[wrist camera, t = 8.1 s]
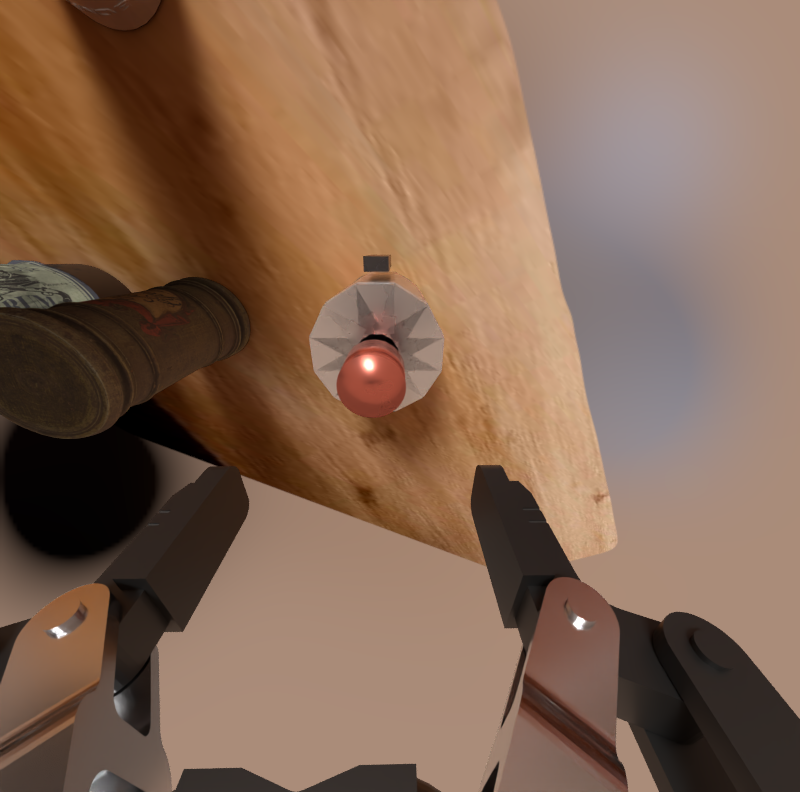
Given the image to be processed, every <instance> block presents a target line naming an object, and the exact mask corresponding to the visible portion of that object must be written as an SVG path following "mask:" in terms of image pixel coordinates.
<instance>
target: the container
mask: <svg viewBox="0 0 800 792" xmlns="http://www.w3.org/2000/svg"><path fill="white" fill-rule="evenodd" d="M249 336H250V323H249V318H248V315H247V313H246V311H245V309H244V307H243V306H242V304H241V303H240V301H239V300H238V299H237V298H236V296H235V295H234V294H232V293H231V292H230V291H229V290H228V289H226V288H225V287H224V286H222V285H220V284H218V283H216V282H214V281H211V280H208V279H204V278H199V277H188V278H183V279H180V280H176V281H172V282H170V283H168V284H166V285H165V286H161V287H154V288H151V289H148V290H146V291H142V292H136V293H130V294H125V295H119V296H113V297H107V298H100V299H94V300H88V301H82V302H64V303H59V304H56V305H53V306H51V307H50V308H48V309H42V308H23V309H22V308H14V307H0V415H2V416H4V417H5V418H7V419H8V420H10V421H12V422H14V423H16V424H17V425H20V426H22V427H24V428H26V429H29V430H32V431H34V432H37V433H40V434H43V435H47V436H51V437H55V438H64V439H75V438H83V437H88V436H92V435H95V434H98V433H100V432H103V431H105V430H106V429H108V428H110V427H111V426H112V425H113V424H114V423H115V422H116V421H117V420H118V418H119V417H120V416H122V415H123V414H125V413H126V412H127V411H128V409H129V408H130V407H132V406H133V405H138V404H141V403H144V402H146V401H148V400H149V399H151V398H152V397H153V396H154V395H155V394H157V393H158V392H160V391H162V390H163V389H165V388H167V387H169V386H170V385H172V384H174V383H175V382H177V381H179V380H180V379H182V378H184V377H185V376H187V375H189V374H191V373H193V372H194V371H196V370H198V369H200V368H203V367H206V366H209V365H211V364H213V363H214V362H215V361H219V360H223V359H226V358H228V357H230V356H232V355H234V354H236V353H238V352H239V351H241V350H242V349H243V348H244V347H245V345H246V344H247V342H248V339H249Z"/></svg>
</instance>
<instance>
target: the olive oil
mask: <svg viewBox="0 0 800 792" xmlns="http://www.w3.org/2000/svg"><path fill="white" fill-rule="evenodd" d="M130 293H131V292H130V291H129V290H128V289H127V288H126V287H125V286H124V285H123V284H122V283H121V282H120V281H118V280H117V279H116V278H114V277H113V276H111V275H110V274H108V273H106V272H104V271H102V270H100V269H98V268H95V267H92V266H88V265H82V264H43V263H42V264H41V263H40V262H39V263H38V262H37V261H22V260H12V261H11V262H9V263H8V264H0V307H14V308H22V309H23V308H42V309H48V308H50V307H51V306H53V305H56V304H59V303H64V302H82V301H88V300H94V299H100V298H107V297H113V296H119V295H125V294H130Z"/></svg>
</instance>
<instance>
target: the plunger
mask: <svg viewBox="0 0 800 792" xmlns="http://www.w3.org/2000/svg"><path fill="white" fill-rule="evenodd" d="M336 387H337V393H338V396H339V398H340V400H341V401H342V403H343V404H344V405H345V407H347V408H348V409H349V410H350V411H352V412H353V413H355V414H357V415H360V416H363V417H369V418H376V417H382V416H385V415H388V414H390V413H391V412H393V411H394V410H396V409H397V408H398V407H399V406H400V404H401V403H402V401H403V399H404V397H405V393H406V380H405V366H404V361H403V358H402V356H401V354H400V353H399V351H398V348H397V346H396V344H395V343H394V341H393V340H392V339H390V338H389V337H387V336H385V335H383V334H370V335H368V336H367V337H365V338H363V339H362V340H361V341H360V343H359V344H357V345H356V346H354V347H353V348H352V349H351V350H350V352H349V353H348V355H347V357H346V359H345V362H344V364H343V366H342V368H341V370H340V372H339V374H338V377H337V383H336Z"/></svg>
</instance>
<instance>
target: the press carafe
mask: <svg viewBox="0 0 800 792" xmlns="http://www.w3.org/2000/svg"><path fill="white" fill-rule="evenodd" d="M363 261H364V272H369V273H368V274H366V275H364V276H362V277H361V278H359V279H358V280H356V281H355V282H354V283H352V284H350V285H349V286H348V287H346V288H345V289H343V290H342V291H341V292H339V293H338V294H337V295H335V296H334V297H332V298H331V299H330V300H328V301H327V302H325V304H324V305H323V307H322V309H321V312H320V314H319V316H318V318H317V321H316V323H315V325H314V327H313V330H312V332H311V334H310V336H309V337H310V338H309V341H310V348H311V355H312V362H313V369H314V372H315V373H316V375H317V376H318V377H319V379H320V380H321V381H322V382H323V384H324V385H325V386H326V388H327V389H328V390H329V392H330V393H331V394H332V395H333V397H335V398H336V399H338V400H340V398H339V396H338V393H337V387H336V383H337V377H338V374H339V372H340V370H341V368H342V366H343V364H344V362H345V359H346V357H347V355H348V353H349V352H350V350H351V349H352V348H353V347H354V346H356V345H357V344H359V343H360V341H361V340H362V339H363V338H365V337H367V336H368V335H370V334H383V335H385V336H387V337H389V338H390V339H392V340H393V341H394V343H395V344H396V346H397V348H398V351H399V353H400V354H401V356H402V358H403V361H404V366H405V380H406V393H405V397H404V399H403V401H402V403H401V404H400V406H399V407H398V408H397V409H396V410H394V411H393V412H395V411H397V410H399V409H401V408H403V407H405V406H407V405H409V404H411V403H413V402H415V401H417V400H419V399H421V398H423V397H424V396H425V394H426V393H427V392H428V390H429V389H430V387H431V386H432V384H433V383H434V382H435V380H436V379H437V377H438V376H439V374H440V373H441V371H442V361H443V348H444V336H443V333H442V331H441V329H440V327H439V325H438V323H437V321H436V319H435V317H434V315H433V313H432V311H431V309H430V307H429V305H428V303H427V302H426V300H425V298H424V297H423V295H422V293H421V292H420V290H419V288H418V287H417V285H416V284H414V283H412V282H411V281H410V280H408V279H407V278H405V277H403V276H402V275H400V274H398V273H397V272H389V270H390V267H391V255H368V256H363ZM340 401H341V400H340Z"/></svg>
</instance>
